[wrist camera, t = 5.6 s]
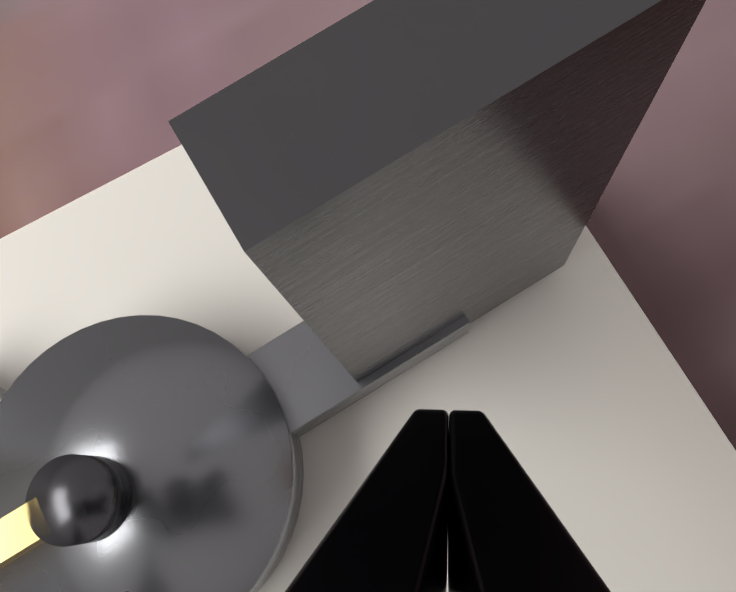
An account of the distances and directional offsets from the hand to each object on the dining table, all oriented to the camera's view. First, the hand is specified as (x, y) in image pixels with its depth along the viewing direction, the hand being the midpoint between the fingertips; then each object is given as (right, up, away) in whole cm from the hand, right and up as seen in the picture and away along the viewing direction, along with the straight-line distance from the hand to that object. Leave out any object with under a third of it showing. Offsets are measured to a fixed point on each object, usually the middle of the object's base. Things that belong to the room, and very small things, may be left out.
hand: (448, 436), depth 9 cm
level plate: (-4, -5, +6) cm, 9 cm away
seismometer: (-6, -2, +6) cm, 9 cm away
